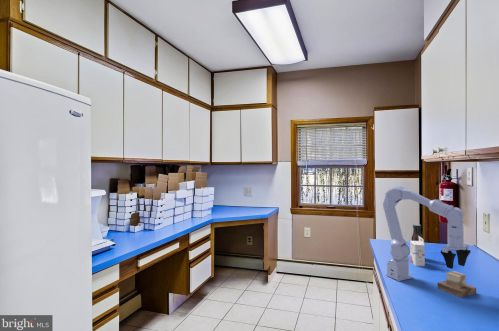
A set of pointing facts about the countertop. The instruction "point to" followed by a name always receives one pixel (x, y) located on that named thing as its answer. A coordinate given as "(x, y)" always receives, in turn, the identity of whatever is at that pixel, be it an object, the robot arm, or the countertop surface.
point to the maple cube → (456, 279)
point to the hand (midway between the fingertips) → (455, 266)
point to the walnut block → (457, 289)
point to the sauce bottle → (416, 232)
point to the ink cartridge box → (417, 252)
